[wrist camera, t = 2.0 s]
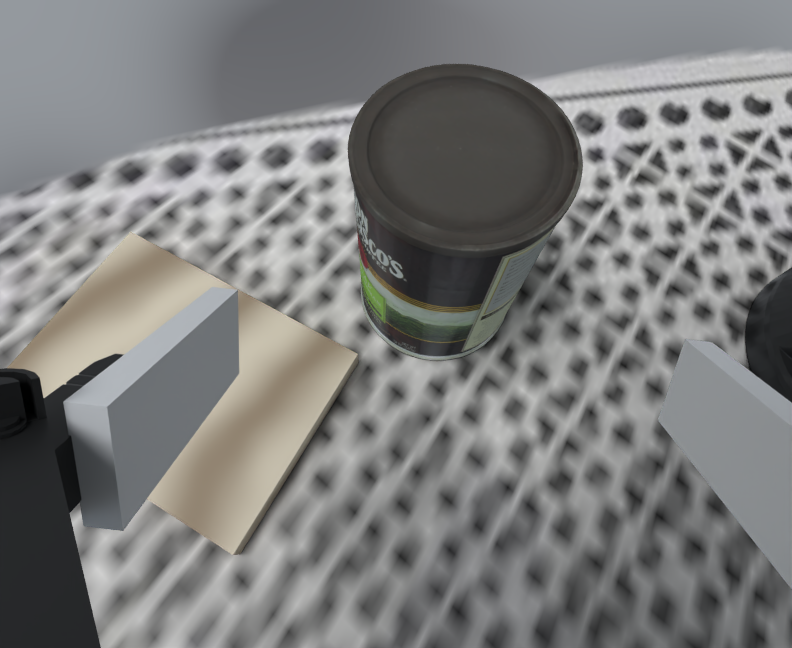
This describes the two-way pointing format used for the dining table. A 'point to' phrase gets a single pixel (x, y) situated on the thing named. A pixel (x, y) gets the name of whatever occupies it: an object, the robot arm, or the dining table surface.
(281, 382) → the plain beige board
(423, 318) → the coffee can
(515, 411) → the dining table surface
